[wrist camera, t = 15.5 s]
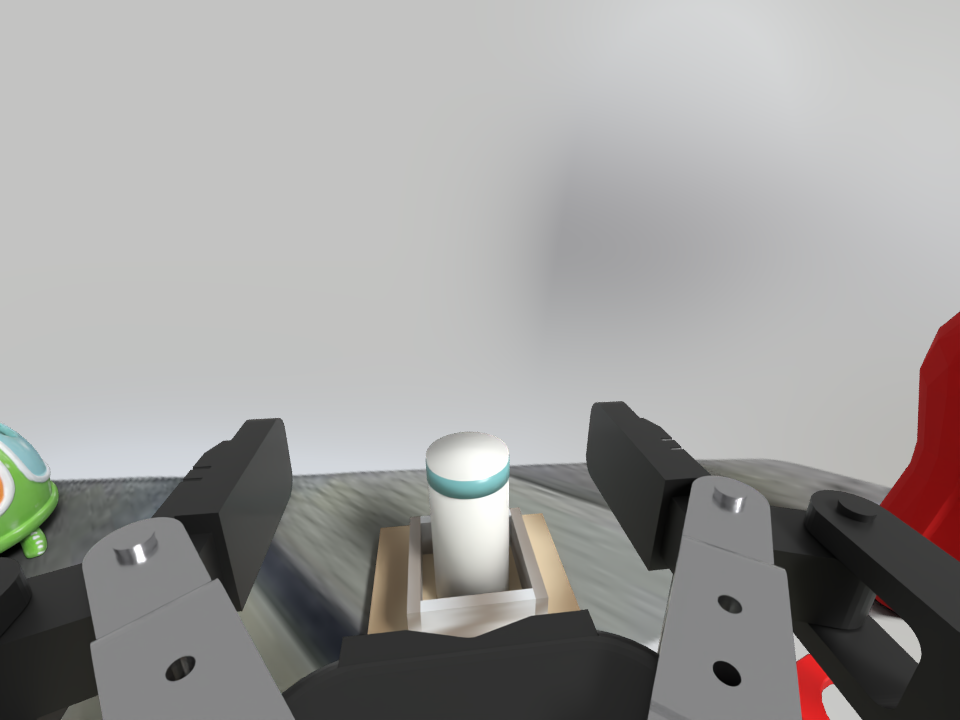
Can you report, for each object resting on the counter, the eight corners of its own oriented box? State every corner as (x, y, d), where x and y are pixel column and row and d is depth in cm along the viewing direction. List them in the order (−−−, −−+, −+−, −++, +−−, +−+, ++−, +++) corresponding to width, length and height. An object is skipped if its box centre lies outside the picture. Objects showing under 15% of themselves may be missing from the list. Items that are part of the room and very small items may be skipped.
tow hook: (760, 725, 24) (1018, 926, 17) (804, 528, 21) (1156, 682, 14) (816, 639, 29) (1035, 769, 22) (859, 467, 25) (1141, 558, 18)
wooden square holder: (360, 715, 25) (353, 664, 23) (381, 537, 38) (377, 498, 36) (602, 681, 26) (608, 631, 25) (541, 522, 39) (543, 484, 38)
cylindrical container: (435, 623, 29) (424, 479, 25) (434, 562, 34) (425, 434, 30) (515, 614, 29) (516, 471, 26) (503, 555, 34) (502, 429, 31)
